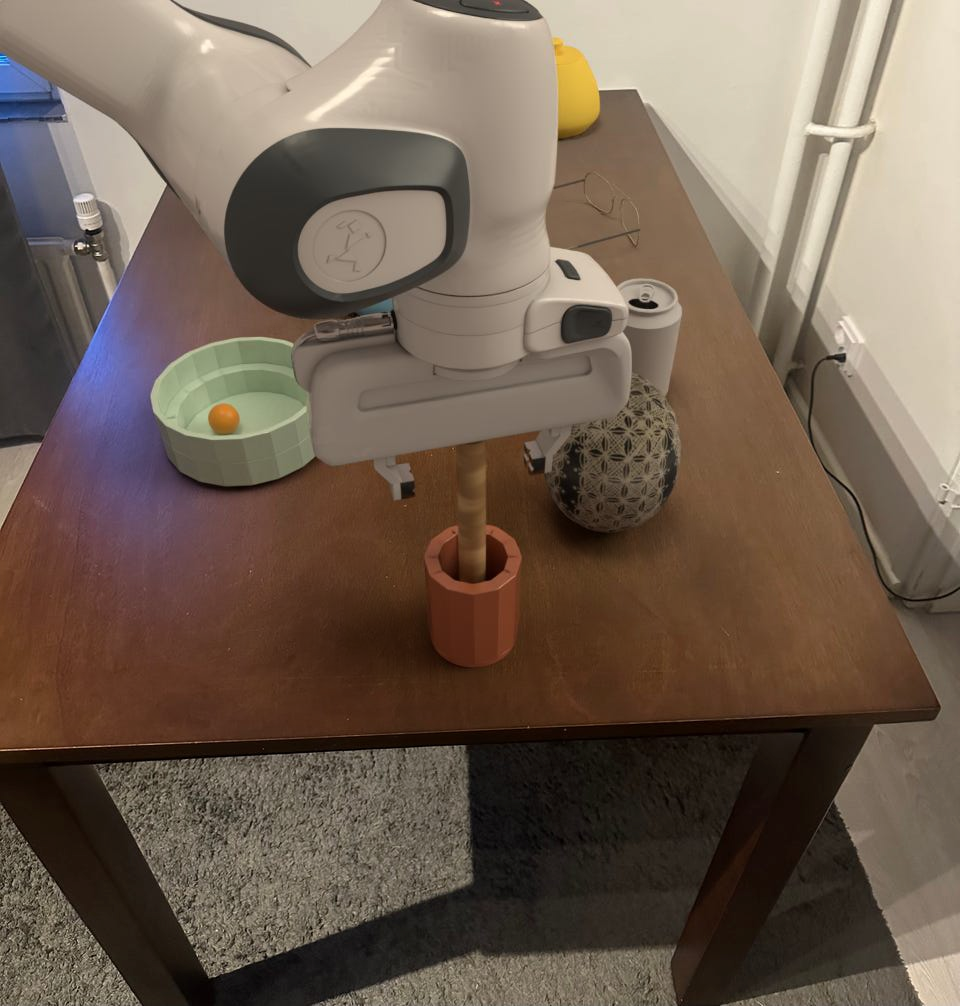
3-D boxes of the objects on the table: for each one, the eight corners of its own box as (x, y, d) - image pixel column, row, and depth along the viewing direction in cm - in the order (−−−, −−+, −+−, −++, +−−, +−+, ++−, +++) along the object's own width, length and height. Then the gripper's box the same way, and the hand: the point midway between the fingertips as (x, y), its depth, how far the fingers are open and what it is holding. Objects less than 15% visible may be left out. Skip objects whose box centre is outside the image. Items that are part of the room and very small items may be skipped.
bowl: (136, 475, 85) (117, 423, 81) (214, 378, 97) (201, 327, 92) (293, 505, 82) (282, 452, 78) (355, 401, 94) (348, 349, 89)
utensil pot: (419, 657, 70) (413, 582, 64) (444, 591, 75) (440, 515, 69) (505, 676, 69) (508, 601, 62) (525, 607, 74) (529, 532, 67)
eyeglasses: (646, 250, 117) (651, 214, 113) (542, 272, 113) (544, 235, 109) (591, 199, 127) (594, 164, 124) (494, 217, 123) (494, 182, 120)
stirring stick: (457, 633, 71) (451, 441, 57) (464, 614, 72) (460, 422, 58) (482, 638, 71) (481, 447, 57) (488, 619, 72) (489, 427, 58)
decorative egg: (513, 519, 81) (518, 385, 71) (588, 454, 87) (603, 323, 77) (620, 582, 76) (642, 448, 65) (692, 509, 82) (723, 376, 71)
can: (589, 406, 93) (600, 306, 84) (603, 366, 98) (615, 268, 90) (661, 419, 91) (679, 319, 83) (671, 378, 96) (689, 279, 88)
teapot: (609, 139, 142) (617, 54, 133) (492, 146, 140) (493, 60, 132) (581, 94, 156) (587, 14, 148) (475, 100, 155) (475, 19, 146)
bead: (196, 421, 88) (209, 402, 86) (217, 412, 90) (230, 393, 88) (217, 443, 87) (230, 425, 86) (237, 434, 90) (250, 416, 88)
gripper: (292, 359, 46) (324, 542, 56) (656, 305, 50) (627, 484, 60) (279, 298, 51) (310, 477, 60) (614, 252, 55) (594, 427, 64)
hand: (470, 480), depth 60 cm, fingers open, 8 cm apart
